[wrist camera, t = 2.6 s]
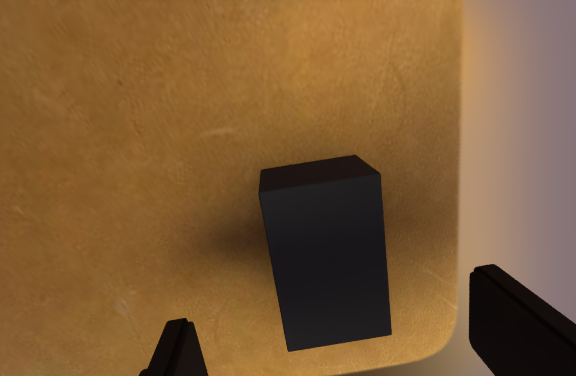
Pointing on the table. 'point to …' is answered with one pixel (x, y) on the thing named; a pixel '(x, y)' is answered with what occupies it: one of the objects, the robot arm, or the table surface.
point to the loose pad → (327, 250)
